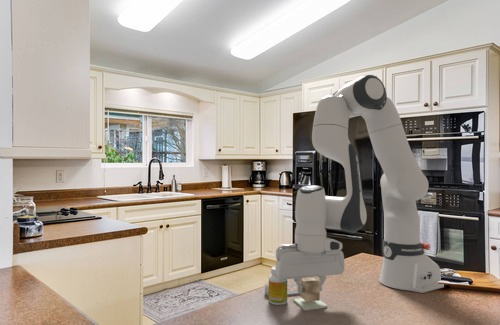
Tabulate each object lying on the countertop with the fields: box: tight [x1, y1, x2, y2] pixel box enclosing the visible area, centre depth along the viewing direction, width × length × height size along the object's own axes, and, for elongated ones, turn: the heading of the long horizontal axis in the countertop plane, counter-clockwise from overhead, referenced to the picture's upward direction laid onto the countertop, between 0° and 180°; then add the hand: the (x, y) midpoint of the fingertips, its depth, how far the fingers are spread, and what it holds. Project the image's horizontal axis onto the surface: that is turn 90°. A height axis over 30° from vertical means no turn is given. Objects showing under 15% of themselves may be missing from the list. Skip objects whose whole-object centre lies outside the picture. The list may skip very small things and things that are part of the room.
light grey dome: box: [264, 281, 269, 298], centre depth 108 cm, size 5×5×3 cm
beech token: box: [299, 277, 321, 302], centre depth 101 cm, size 4×4×5 cm
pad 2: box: [293, 297, 328, 311], centre depth 101 cm, size 7×7×1 cm
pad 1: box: [287, 284, 300, 297], centre depth 111 cm, size 7×7×1 cm
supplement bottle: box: [268, 265, 288, 306], centre depth 102 cm, size 5×5×10 cm
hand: (310, 291), depth 101 cm, fingers closed on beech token, 4 cm apart
